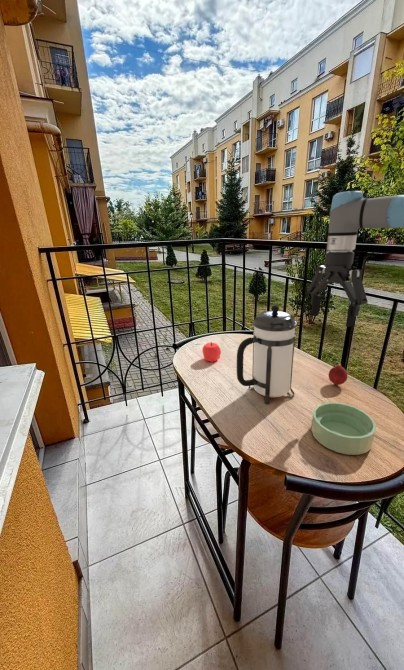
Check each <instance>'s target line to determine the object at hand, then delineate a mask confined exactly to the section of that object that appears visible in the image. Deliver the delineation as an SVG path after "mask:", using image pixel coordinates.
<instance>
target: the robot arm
mask: <svg viewBox="0 0 404 670" xmlns="http://www.w3.org/2000/svg"><path fill="white" fill-rule="evenodd" d="M398 228H404V194H397V195H389V196H380V197H371V198H366V197H364V193H363V191H361V190H351V191H349V190H348V191H340V192H338V193H335V194H334V195H333V196H332V200H331V206H330V211H329V222H328V232H327V241H326V242H327V243H326V250H327V251H326V252H325V259H324V264H325V265H318V266H317V267H316V271H315V274H314V276H313V277H312V280H311V282H310V284H309V286H308V288H307V290H306V293H307V294H310V296H311V297H310V305H311V312H310V316H311V317H314V316H319V315H320V306H321V298H322V297H321V293H322V292H323V290H325V288H326V287H328V285H329V284H330V283H332V284H333V283H334V284H337V285H339V286H341V287H342V288H343V291H344V292H345V295H346V296H347V298H348V300H349V302H350V304H349V305H348V308H347V315H346V323H345V327H346V328H351V327H354V326H355V324H356V318H357V317H359V314H360V313H359V312H360V308H361V306H362V305H367V304H368V298H367V294H366V291H365V287H364V284H363V283H364V282H363V279H362V270H361V269H354V270H352V265H353V264H354V258H355V252H354V250H356V246H357V245H356V244H357V237H358V230H359V229H361V230H362V229H363V230H364V229H398Z"/></svg>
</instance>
